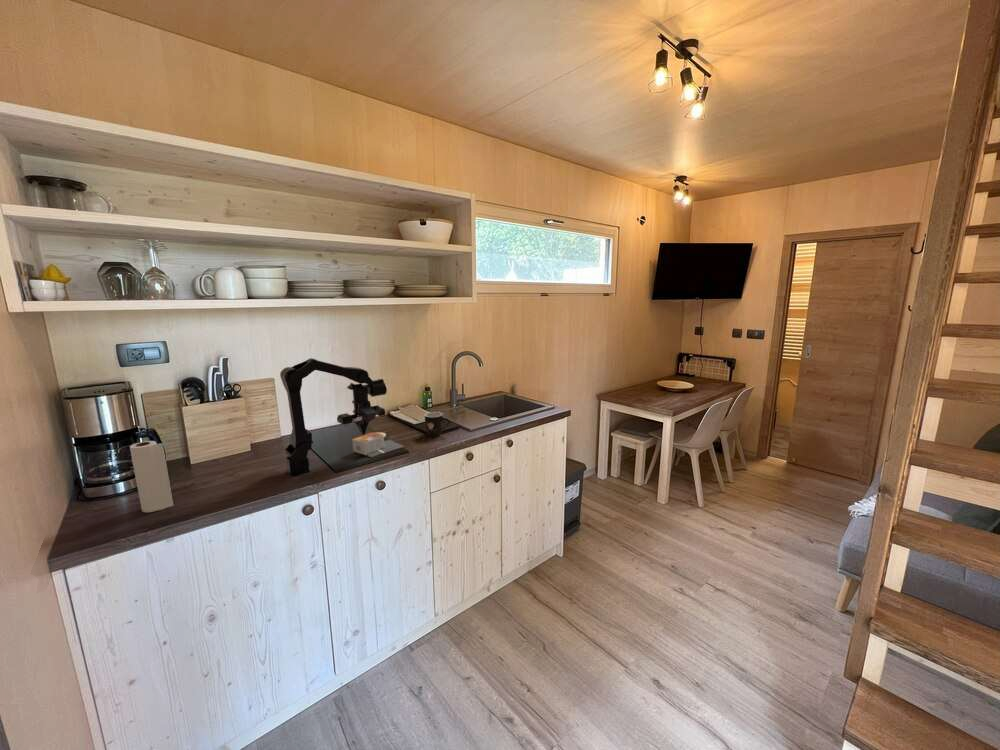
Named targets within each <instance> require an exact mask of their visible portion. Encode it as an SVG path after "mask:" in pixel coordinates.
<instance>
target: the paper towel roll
mask: <svg viewBox="0 0 1000 750" xmlns="http://www.w3.org/2000/svg"><path fill="white" fill-rule="evenodd" d="M129 451H130V456H131V461H132V467H133V471H134V476H135V481H136V482H135V483H136V487H137V492H138V498H139V501H140V508H141V511H142V512H143V513H153V512H157V511H158V512H159V511H161V510H164V509H167V508H170V507H173V506H174V502H173V501H174V500H173V496H172V490H171V485H170V484H171V482H170V479H169V473H168V466H167V459H166V455H165V450H164V443H157V442H156V441H155V440H146V441H141V442H136V443H133V444H131V445H130V446H129Z"/></svg>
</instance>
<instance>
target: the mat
mask: <svg viewBox="0 0 1000 750" xmlns="http://www.w3.org/2000/svg"><path fill="white" fill-rule="evenodd" d="M384 446H385V447H384V448H381V449H379V450H377V451H374V452H372V453H369V454H367V455H365V456H366V457H368V458H369V457H370V459H372V458H371V457H373V458H375V457H374V456H376V457H378V456H377V455H380V454H383V455H385V454H384V453H386V454H388V453H387V452H389V453H391V452H390V451H392V452H394V451H393V450H396V449H399V448H402V449H404V448H405V445H403V444H399V443H398V442H396V441H393V440H391V439H387V440H384ZM399 450H400V449H399ZM396 451H397V450H396ZM380 456H381V455H380Z"/></svg>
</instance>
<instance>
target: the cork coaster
mask: <svg viewBox="0 0 1000 750" xmlns="http://www.w3.org/2000/svg"><path fill="white" fill-rule="evenodd" d="M374 433H377V434H380V435H384V438H386V437H387V434H386V433H385V432H383V431H382V432H377V431H376V432H374Z"/></svg>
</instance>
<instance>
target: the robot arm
mask: <svg viewBox="0 0 1000 750" xmlns="http://www.w3.org/2000/svg"><path fill="white" fill-rule="evenodd" d="M315 371H318V372H319V371H320V372H323V373H326V374H327V373H328V374H330V375H331V374H332V375H335V376H340V377H344V378H346V379H348V380H350V381H353V382H355V383H353V382H351V383H350V384H349V385H348V386H347V387H346V388H347V390H351V391H352V397H353V400H352V401H351V402H352V404H353V410H352V413H353V414H349V413H347V412H346V413H341V414H338V415H337V417H336V422H337V423H339V424H341V425H347V424H348V425H349V424H352V423H353V422H354V423H355V425H356V426H357V428H358V430H359V431H360V433H361V436H363V435H365V434H366V432H367V430H368V429H367V428H368V426H369V423H370V422H371V421H373V420H375V419H376V417H377V416H378V417H382V416H386V413H387V412H386V409H385V408H384V407H381V406H380V405H378V404H377V405H371V401H370V400H369V396H370V397H372V398H373V397H378V396H379V397H380V396H384V395H387V392H388V388H387V386H386V383H385V380H384V379H383V378H377V379H374V380H373V379H372V378H371V377H370V376H369V373H368V371H367V370H366V369H364V368H360V367H356V366H355V367H352V366H341V365H338V364H333V363H329V362H325V361H323V360H322V361H321V360H317V359H316V358H312V357H311V358H308V359H306V360H305V361H302V362H300V363H297V364H295V365H293V366H290V367H289V366H287V367H284V368H283V369H282V370H281V371H280V374H279V376H280V379H281V382H282V385H283V387H284V389H285V391H286V394H287V395H286V396H287V399H288V408H289V415H290V420H291V427H292V428H291V433H290V442H289V444H288V445H287V446H286V448H285V449H284V452H285V453H286V455H287V456H286V457H285V459H286V466H287V470H285V471H286V473H287V474H289V476H291V477H295V476H296V477H297V476H298V475H301V474H305V473H309V472H310V463H309V462H310V461H309V457H308V453H309V452H310V451H311V449H312V447H313V445H312V444H314V441H313V434H312V431H310V430H309V429H306V425H305V418H304V410H303V403H302V396H301V390H302V386H303V379H305V378H306V377H308V376H309V375H310V374H312V373H313V372H315Z"/></svg>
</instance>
